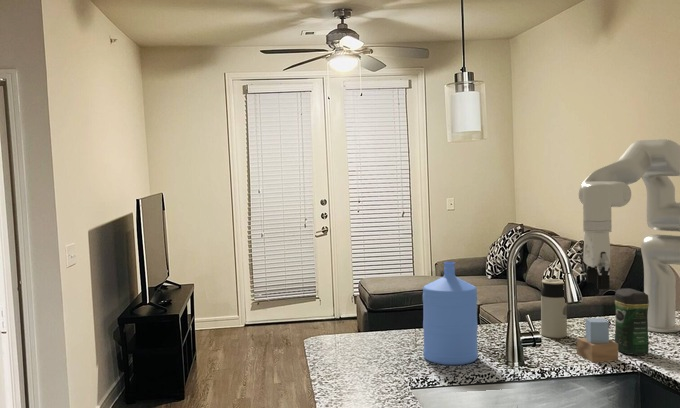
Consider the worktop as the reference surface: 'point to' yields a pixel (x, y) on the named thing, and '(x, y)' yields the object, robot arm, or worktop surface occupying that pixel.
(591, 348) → the walnut block
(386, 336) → the worktop surface
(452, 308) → the water jug
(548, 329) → the travel mug
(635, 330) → the coffee jar
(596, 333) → the blue block
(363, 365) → the worktop surface
